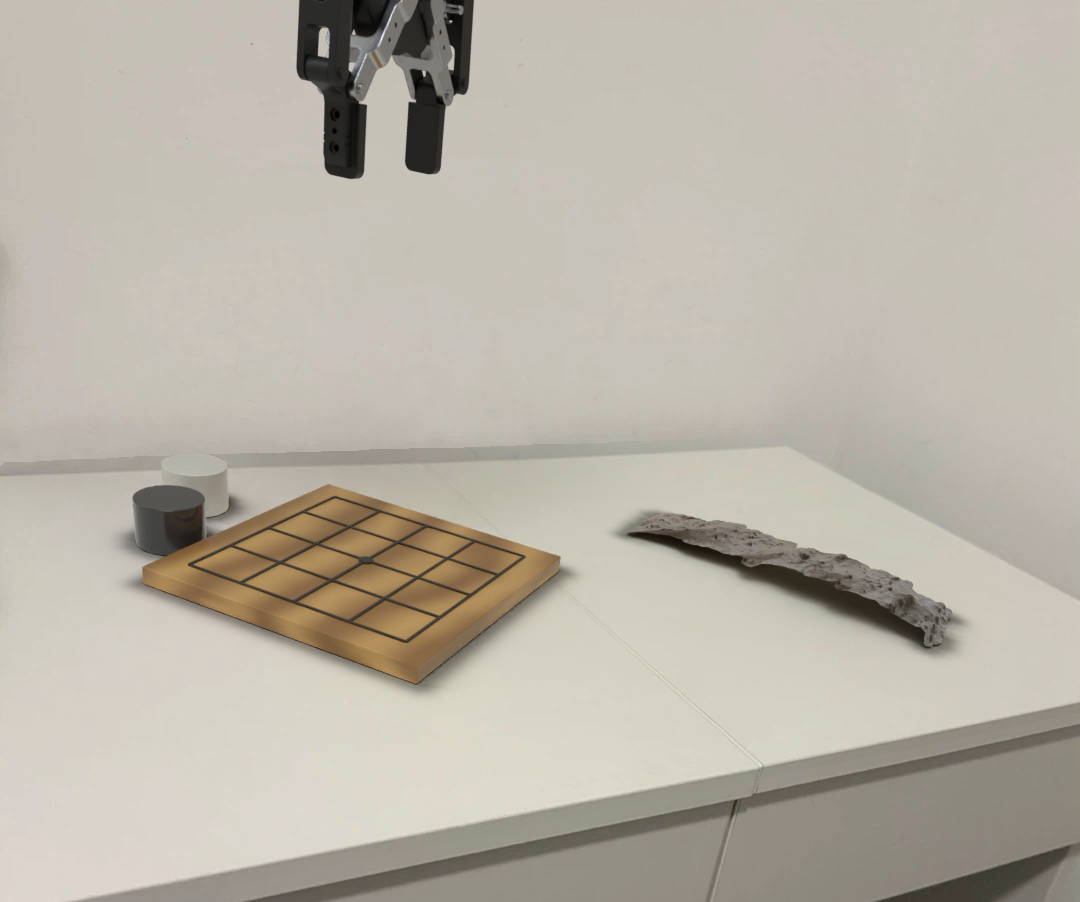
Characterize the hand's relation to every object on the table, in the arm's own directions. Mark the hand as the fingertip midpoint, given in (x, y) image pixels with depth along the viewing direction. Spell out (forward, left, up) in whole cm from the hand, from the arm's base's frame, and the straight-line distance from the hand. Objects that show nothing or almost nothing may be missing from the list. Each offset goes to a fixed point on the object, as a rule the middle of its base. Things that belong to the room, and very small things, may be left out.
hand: (385, 174), depth 63 cm
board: (+3, -4, -24) cm, 24 cm away
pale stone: (-13, -2, -24) cm, 28 cm away
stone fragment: (+27, +17, -24) cm, 40 cm away
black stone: (-10, -8, -24) cm, 27 cm away
